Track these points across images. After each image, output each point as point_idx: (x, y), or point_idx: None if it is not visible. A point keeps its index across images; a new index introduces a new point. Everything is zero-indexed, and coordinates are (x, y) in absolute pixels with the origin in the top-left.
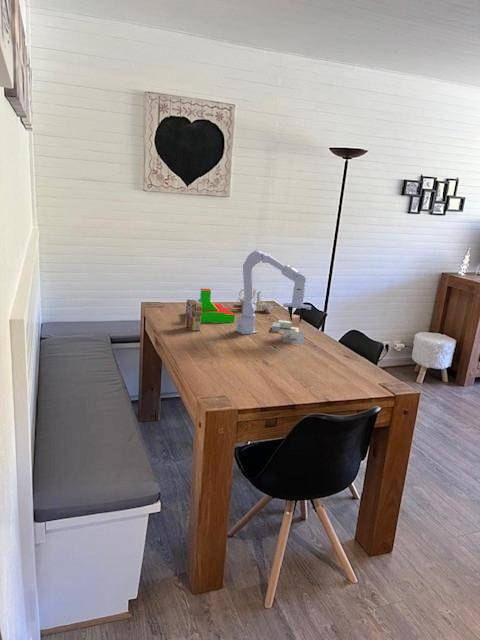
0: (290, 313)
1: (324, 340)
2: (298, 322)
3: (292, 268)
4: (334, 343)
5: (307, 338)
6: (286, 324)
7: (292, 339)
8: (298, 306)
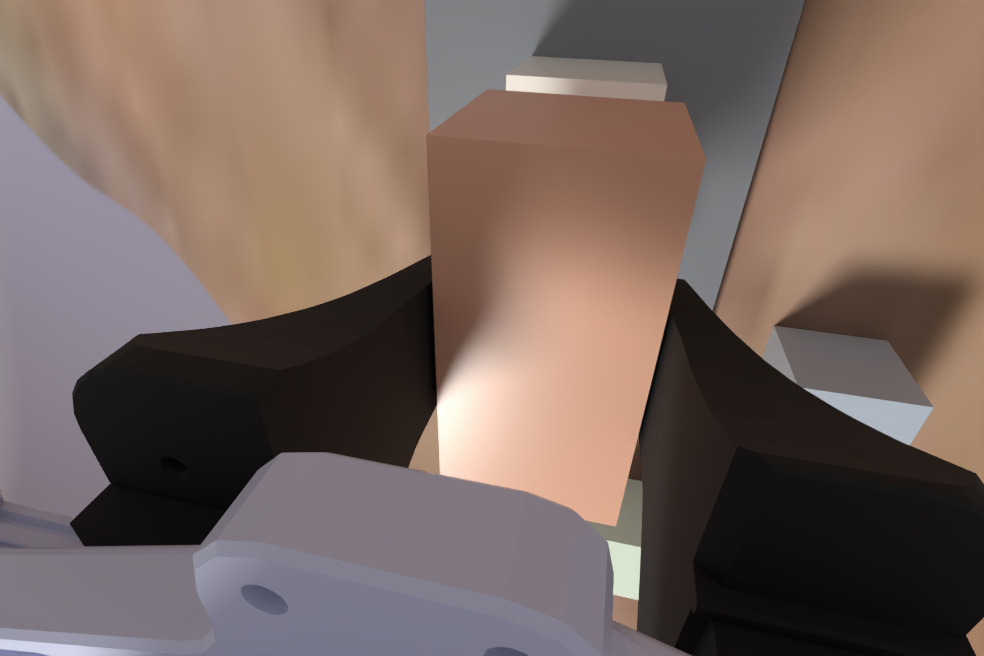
0: (765, 387)
1: (195, 174)
2: (482, 112)
3: None
4: (64, 80)
5: (394, 200)
6: (635, 527)
7: (625, 8)
8: (244, 557)
